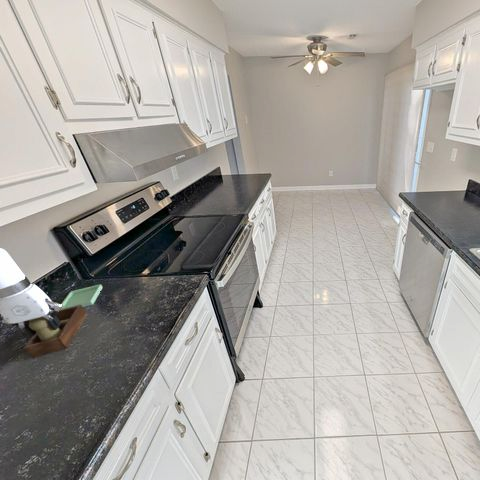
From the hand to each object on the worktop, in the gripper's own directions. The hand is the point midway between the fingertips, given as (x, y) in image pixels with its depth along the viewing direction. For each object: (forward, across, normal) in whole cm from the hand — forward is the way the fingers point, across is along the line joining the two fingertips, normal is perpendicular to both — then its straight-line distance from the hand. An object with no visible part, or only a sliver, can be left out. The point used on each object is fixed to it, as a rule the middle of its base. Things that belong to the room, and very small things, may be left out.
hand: (46, 329), depth 84 cm
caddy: (+6, 0, +4) cm, 8 cm away
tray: (+6, -1, +25) cm, 25 cm away
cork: (+6, 0, 0) cm, 6 cm away
